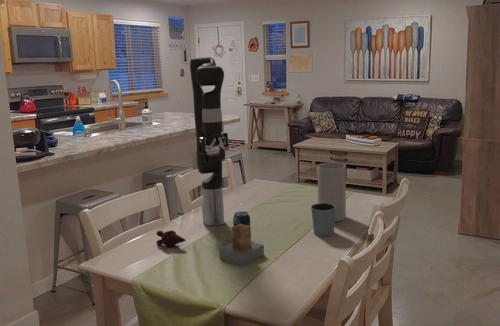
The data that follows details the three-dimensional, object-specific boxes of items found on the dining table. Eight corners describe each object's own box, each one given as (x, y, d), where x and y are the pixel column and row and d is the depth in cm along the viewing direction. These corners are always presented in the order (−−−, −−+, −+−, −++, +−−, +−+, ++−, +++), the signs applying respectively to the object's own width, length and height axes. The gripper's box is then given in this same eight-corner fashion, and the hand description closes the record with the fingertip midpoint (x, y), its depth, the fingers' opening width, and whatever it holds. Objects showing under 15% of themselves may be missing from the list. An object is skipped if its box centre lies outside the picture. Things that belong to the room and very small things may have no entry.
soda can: (238, 245, 190) (237, 217, 187) (231, 240, 196) (230, 213, 193) (254, 242, 193) (252, 214, 190) (246, 237, 199) (245, 210, 196)
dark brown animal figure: (191, 230, 191) (163, 228, 199) (179, 232, 185) (150, 230, 192) (190, 247, 191) (162, 245, 198) (179, 249, 184) (150, 247, 192)
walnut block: (232, 247, 178) (231, 227, 176) (240, 243, 182) (239, 223, 180) (242, 250, 175) (241, 230, 173) (250, 245, 178) (249, 226, 177)
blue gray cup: (338, 230, 201) (338, 203, 199) (332, 239, 192) (331, 211, 190) (315, 228, 206) (315, 201, 203) (308, 236, 197) (307, 208, 194)
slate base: (219, 258, 178) (219, 248, 177) (240, 248, 187) (240, 238, 186) (243, 265, 171) (243, 255, 170) (264, 254, 180) (263, 245, 179)
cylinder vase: (315, 221, 214) (314, 168, 209) (321, 212, 226) (321, 162, 220) (342, 223, 210) (342, 169, 204) (347, 214, 221) (347, 163, 216)
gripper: (218, 117, 186) (220, 157, 189) (191, 121, 175) (194, 164, 179) (232, 118, 181) (234, 159, 184) (206, 123, 170) (208, 166, 174)
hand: (214, 161), depth 182 cm, fingers open, 8 cm apart
